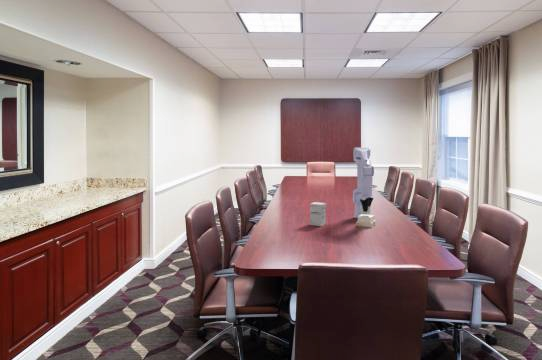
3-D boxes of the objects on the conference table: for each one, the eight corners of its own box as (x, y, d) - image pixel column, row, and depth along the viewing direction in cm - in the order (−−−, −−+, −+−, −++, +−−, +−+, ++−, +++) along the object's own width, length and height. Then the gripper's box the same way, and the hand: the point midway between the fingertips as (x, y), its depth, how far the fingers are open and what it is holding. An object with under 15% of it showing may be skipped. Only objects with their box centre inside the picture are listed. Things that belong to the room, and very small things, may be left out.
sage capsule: (363, 212, 227) (363, 205, 226) (371, 212, 225) (371, 206, 224) (361, 213, 223) (361, 206, 223) (369, 214, 221) (369, 207, 220)
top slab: (361, 219, 230) (361, 214, 229) (374, 220, 226) (374, 215, 226) (357, 221, 223) (357, 216, 223) (370, 222, 219) (370, 217, 219)
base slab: (360, 223, 231) (360, 218, 230) (376, 225, 226) (376, 220, 226) (356, 226, 223) (356, 221, 222) (372, 228, 218) (372, 223, 218)
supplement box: (309, 225, 225) (309, 203, 223) (314, 222, 231) (314, 201, 230) (321, 226, 221) (321, 204, 220) (326, 224, 228) (326, 202, 226)
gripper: (363, 185, 230) (363, 208, 232) (356, 188, 218) (355, 212, 219) (375, 186, 227) (374, 209, 228) (369, 189, 214) (368, 213, 216)
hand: (366, 210), depth 224 cm, fingers closed on sage capsule, 4 cm apart
